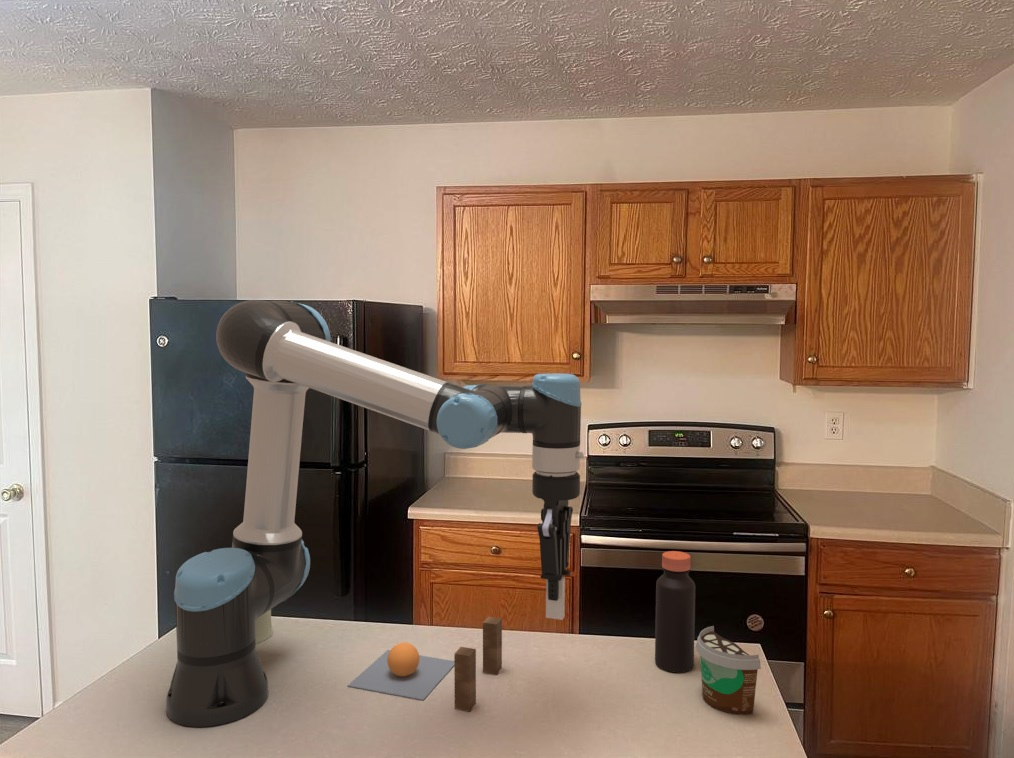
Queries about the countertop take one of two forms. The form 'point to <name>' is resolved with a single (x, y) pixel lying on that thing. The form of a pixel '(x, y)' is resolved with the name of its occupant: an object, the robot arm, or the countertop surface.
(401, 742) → the countertop surface
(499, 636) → the post
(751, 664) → the food container
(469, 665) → the post
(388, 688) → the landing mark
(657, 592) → the bottle
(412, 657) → the ball
